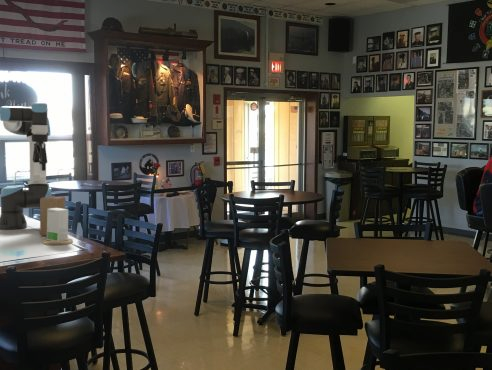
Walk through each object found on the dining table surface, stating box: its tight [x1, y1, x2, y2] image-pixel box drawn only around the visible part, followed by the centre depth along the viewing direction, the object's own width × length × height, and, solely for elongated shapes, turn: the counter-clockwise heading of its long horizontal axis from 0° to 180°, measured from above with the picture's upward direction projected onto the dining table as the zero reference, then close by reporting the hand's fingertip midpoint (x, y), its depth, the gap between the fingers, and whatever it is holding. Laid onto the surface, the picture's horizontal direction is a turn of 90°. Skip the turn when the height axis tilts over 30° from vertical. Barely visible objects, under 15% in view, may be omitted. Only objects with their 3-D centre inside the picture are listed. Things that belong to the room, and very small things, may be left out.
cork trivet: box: [42, 237, 74, 246], centre depth 275 cm, size 14×14×1 cm
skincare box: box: [46, 208, 69, 242], centre depth 274 cm, size 8×7×16 cm
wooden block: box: [39, 195, 66, 237], centre depth 293 cm, size 10×10×20 cm
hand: (39, 176), depth 281 cm, fingers open, 13 cm apart
